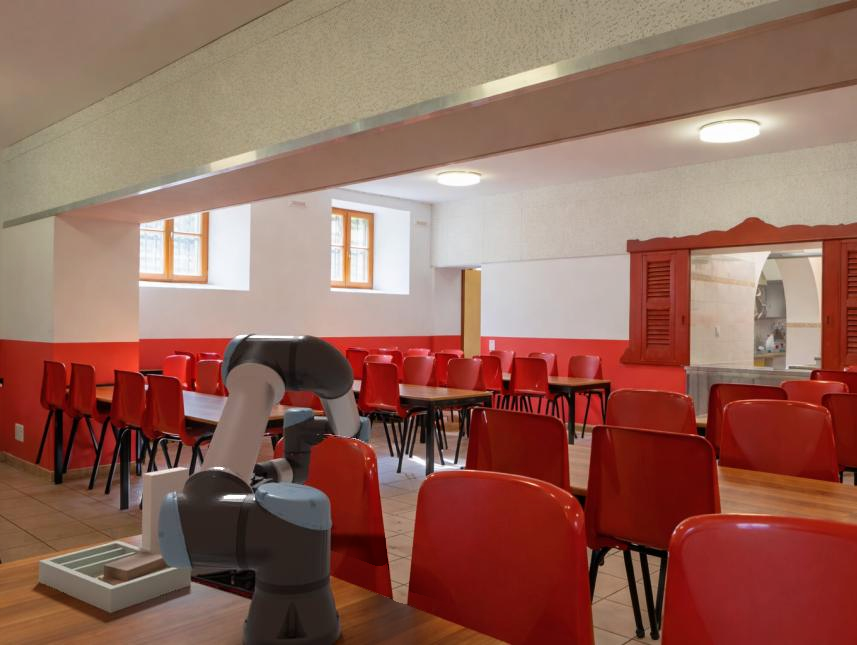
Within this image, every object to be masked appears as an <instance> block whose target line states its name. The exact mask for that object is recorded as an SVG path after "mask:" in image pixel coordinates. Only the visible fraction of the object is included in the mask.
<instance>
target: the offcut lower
mask: <svg viewBox="0 0 857 645" xmlns="http://www.w3.org/2000/svg"><path fill="white" fill-rule="evenodd" d="M165 569H168V568H163V569H160V570H158V571H155V572H152V573H150V574H153V573H156V572H159V571H162V570H165ZM147 575H149V574H147ZM144 576H146V575H144ZM142 577H143V576H142ZM139 578H140V577H139ZM98 580H100V581H103V582H105V583H108V584H110V585H113V586H114V585H117V584H120V583H124V582H125V581H121V580H117V579H113V578H109V577H105V576H104V575H101V576H98Z"/></svg>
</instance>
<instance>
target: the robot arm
mask: <svg viewBox="0 0 857 645" xmlns="http://www.w3.org/2000/svg"><path fill="white" fill-rule="evenodd" d="M223 352H224V353H223V361H222V363H221V379H222V383H223V385H224V386H225V388H226V389H227V392H228V393H229V394H228V396H227V398H226V400H225V401H226V402H225V405H224V407H223V409H222V411H221V414H220V417H219V420H218V422H217V426H216V427H215V430H214V433H213V436H212V438H211V441H210V444H209V446H208V448H207V452H206V455H205V456H204V459H203V462H202V463H201V464H202V465H201V467H200V470H199V471H195V472H194V473H192V474H191V475H189V478H188V479H187V481H186V483H185V485H184V488H183V490H182V492H177V491H174V492H170V493H168V494H166V495H165V496H164V498H163V500H162V503H161V506H160V511H159V518H158V541H159V548H160V552H161V555H162V558H163V560H164V561H165V563H166V564H167V565H169V566H170V567H173V568H186V569H190V570H194V569H232V570H255V591H254V594H253V597H252V598H251V601H250V604H249V608H248V614H247V616H246V617H245V619H244V620H243V627H242V641H243V644H244V645H334V644H335V643H336V642H337V641H338V640H339V639H340V637H341V617H340V614H339V611H338V610H337V606H336V605H337V604H336V601H335V598H334V594H333V590H332V588H331V539H332V538H331V532H332V531H331V530H332V529H331V528H332V526H333V521H332V518H331V516H332V515H331V513H332V512H331V502H330V499H329V497H328V495H326V494H325V493H324V492H323V491H322V490H320V489H318V488H315V487H313V486H309V485H307V484H304V483H305V481H306V480H307V478H308V473H309V464H310V463H309V462H310V456H311V455H310V454H311V448H312V446H313V447H315V446H314V445H317V444H319V443H321V442H322V441H323V440H324V439H323V438H328V437H326V436H330V435H324V434H332V435H340V436H334V437H342V438H338V439H343V438H348V437H350V438H348V439H351V438H356V439H359V440H361V441H364V442H365V443H367V444H368V446H369V444H370V442H371V436H372V435H371V434H372V433H371V432H372V429H371V428H372V423H371V419H370V418H369V417H367V416H365V417H364V416H360V414H359V411H358V410H359V409H358V407H357V403H356V399H355V394H354V390H353V386H354V382H355V376H354V371H353V368H352V365H351V363H350V361H349V360H348V358H347V357H346V356H345V355H344V353H343V352H341V350H339V349H338V348H337V347H336V346H334V345H333V344H332V343H329V342H328V341H327V340H324V339H322V338H320V337H317V336H313V335H309V334H300V335H298V334H295V335H294V334H293V335H292V334H261V333H260V334H259V333H249V334H241V335H240V334H239V335H236V336H234V337H233V338H232V339H231V340H230V341H229V342H228V343H227V346H226V348H225V349H224V351H223ZM286 392H310V393H311V392H312V393H313V394H314V395H315V396H317V398H319V400H320V403H321V405H322V408H323V410H324V414H325V416H322V415H321V416H320V415H315V413H314V410H313V409H312V408H309V407H291V408H288V409H286V410H285V411H284V413H283V426H282V429H283V430H282V431H283V432H282V433H283V434H282V435H283V439H282V440H283V442H282V443H283V450H282V451H283V452H282V457H280V458H275V459H271V460H266V461H261V462H257V460H258V457H259V453H260V449H261V447H262V443H263V439H264V436H265V433H266V429H267V428H268V427H267V425H268V423H269V419H270V416H271V413H272V410H273V407H274V406H276V405H277V404H279V403H280V402H281V401H282V400H283V398H284V395H285V393H286ZM317 434H319V435H317ZM343 436H346V437H343ZM352 440H353V439H352ZM354 440H355V439H354ZM291 454H293V455H291ZM300 454H302V455H300ZM302 484H304V485H302Z"/></svg>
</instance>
